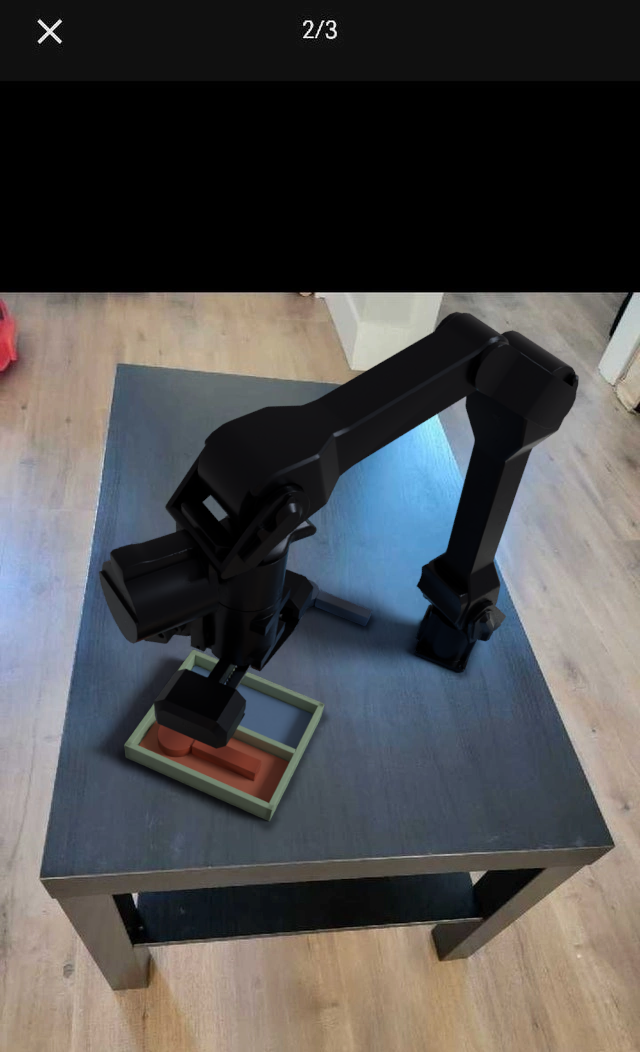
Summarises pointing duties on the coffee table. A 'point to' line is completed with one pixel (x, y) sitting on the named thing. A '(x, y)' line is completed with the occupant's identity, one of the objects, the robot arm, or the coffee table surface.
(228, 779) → the tray
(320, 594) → the blue spoon
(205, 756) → the red spoon
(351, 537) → the coffee table surface
